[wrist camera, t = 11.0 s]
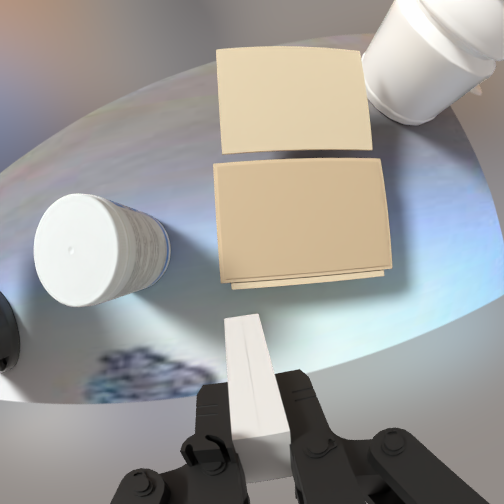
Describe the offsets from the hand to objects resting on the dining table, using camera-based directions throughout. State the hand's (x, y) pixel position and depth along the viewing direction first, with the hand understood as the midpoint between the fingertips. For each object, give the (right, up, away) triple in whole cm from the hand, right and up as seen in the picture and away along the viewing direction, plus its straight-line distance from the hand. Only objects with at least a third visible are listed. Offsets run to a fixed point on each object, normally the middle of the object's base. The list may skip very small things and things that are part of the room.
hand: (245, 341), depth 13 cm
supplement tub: (-14, +4, +22) cm, 27 cm away
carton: (+6, +8, +22) cm, 24 cm away
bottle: (+22, +29, +23) cm, 43 cm away
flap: (+5, +14, +16) cm, 22 cm away
